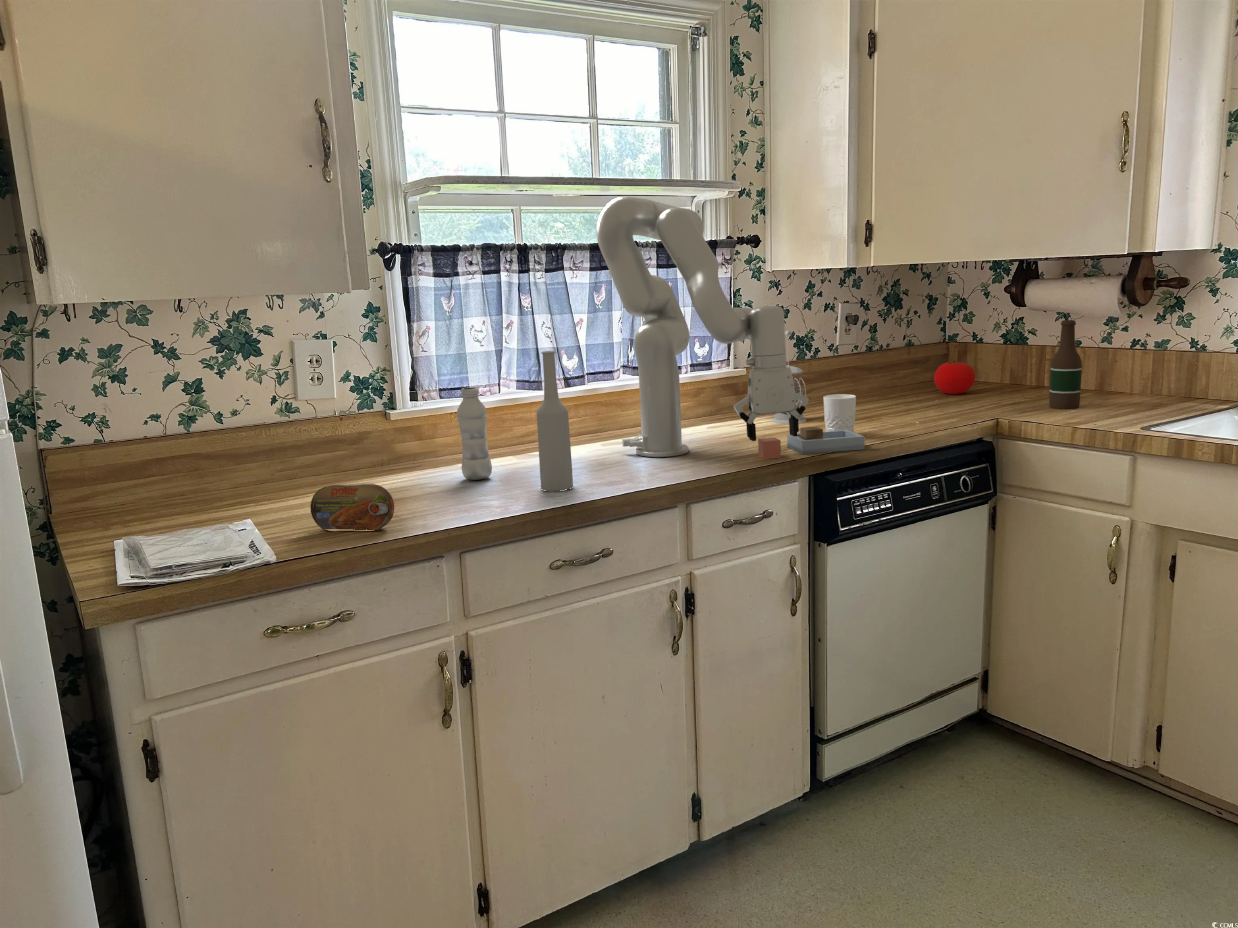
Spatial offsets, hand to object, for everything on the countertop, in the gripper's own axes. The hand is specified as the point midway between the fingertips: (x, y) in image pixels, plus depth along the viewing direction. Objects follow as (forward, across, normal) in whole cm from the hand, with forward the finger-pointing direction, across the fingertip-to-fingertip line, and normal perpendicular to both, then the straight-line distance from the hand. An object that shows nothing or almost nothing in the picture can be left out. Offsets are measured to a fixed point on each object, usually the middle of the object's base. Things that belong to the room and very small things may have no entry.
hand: (773, 437), depth 206 cm
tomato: (+6, +84, +72) cm, 111 cm away
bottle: (+3, -51, -13) cm, 53 cm away
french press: (+4, +20, +45) cm, 49 cm away
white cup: (+5, +23, +18) cm, 29 cm away
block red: (+4, -1, +1) cm, 4 cm away
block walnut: (+4, +11, +4) cm, 12 cm away
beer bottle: (+7, +95, +33) cm, 101 cm away
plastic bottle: (+2, -67, +2) cm, 67 cm away
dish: (+5, +14, +5) cm, 16 cm away
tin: (+2, -89, -32) cm, 95 cm away
